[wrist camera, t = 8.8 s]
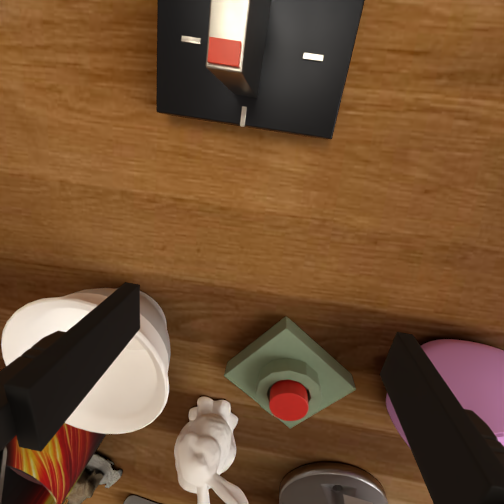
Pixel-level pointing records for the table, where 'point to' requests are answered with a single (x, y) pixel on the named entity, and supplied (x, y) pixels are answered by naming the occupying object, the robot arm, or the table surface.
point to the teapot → (468, 380)
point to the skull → (93, 479)
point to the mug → (48, 467)
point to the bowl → (121, 370)
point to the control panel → (273, 66)
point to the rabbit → (208, 452)
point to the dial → (237, 43)
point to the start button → (288, 400)
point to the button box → (289, 368)
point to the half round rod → (137, 500)
